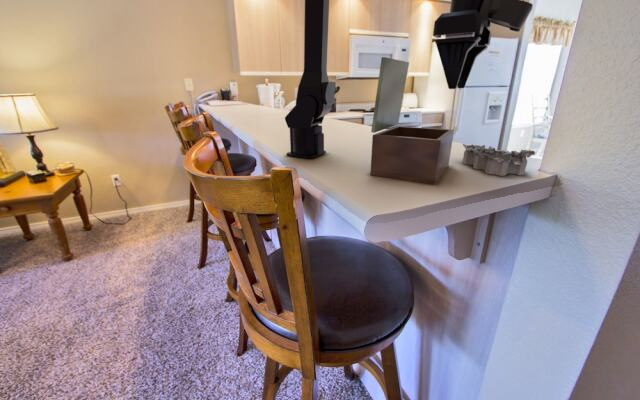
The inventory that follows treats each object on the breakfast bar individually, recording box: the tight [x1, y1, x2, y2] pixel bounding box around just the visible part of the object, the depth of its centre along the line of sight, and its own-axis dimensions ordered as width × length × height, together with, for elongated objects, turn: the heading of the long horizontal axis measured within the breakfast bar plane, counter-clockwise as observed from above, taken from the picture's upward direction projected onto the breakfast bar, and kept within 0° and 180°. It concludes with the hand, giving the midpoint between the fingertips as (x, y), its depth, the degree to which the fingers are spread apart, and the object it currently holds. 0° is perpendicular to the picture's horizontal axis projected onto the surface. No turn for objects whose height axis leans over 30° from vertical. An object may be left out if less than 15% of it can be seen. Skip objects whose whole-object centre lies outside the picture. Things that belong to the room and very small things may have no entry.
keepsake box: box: [369, 125, 455, 185], centre depth 51 cm, size 10×12×7 cm
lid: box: [370, 56, 410, 134], centre depth 50 cm, size 11×12×1 cm
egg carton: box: [461, 143, 536, 177], centre depth 52 cm, size 11×8×4 cm
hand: (456, 88), depth 51 cm, fingers open, 9 cm apart
